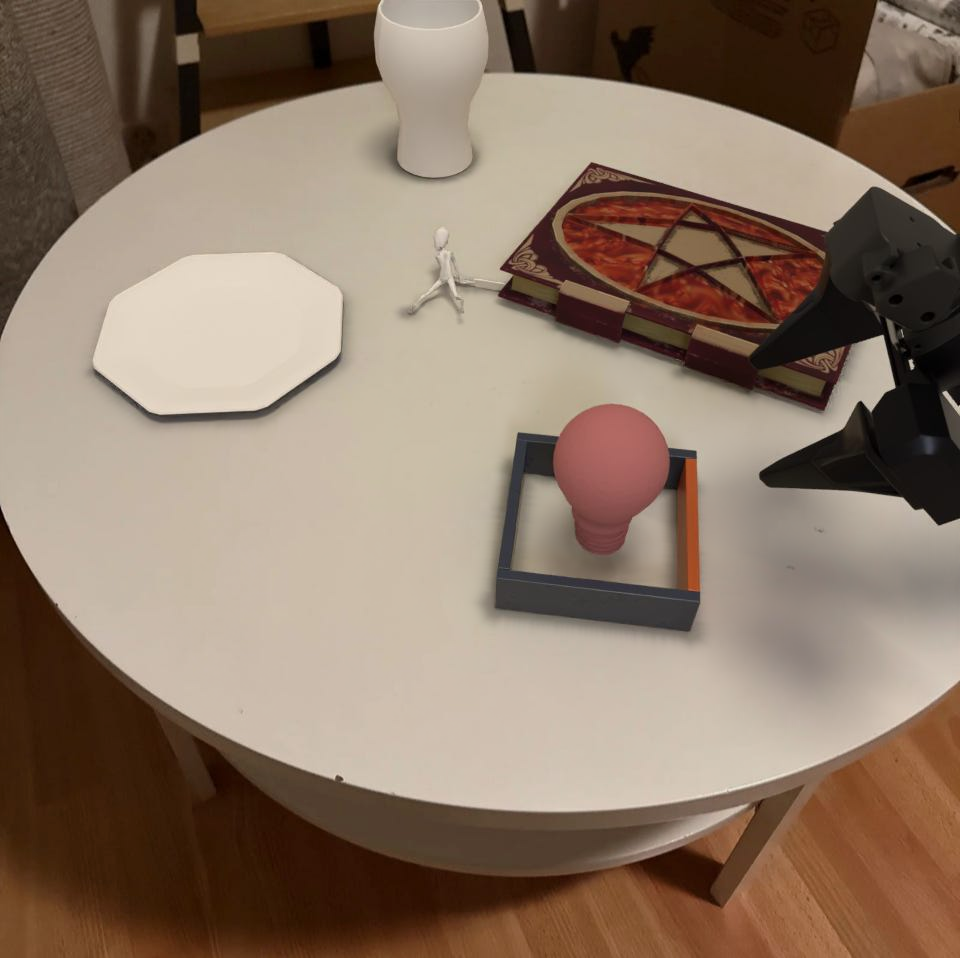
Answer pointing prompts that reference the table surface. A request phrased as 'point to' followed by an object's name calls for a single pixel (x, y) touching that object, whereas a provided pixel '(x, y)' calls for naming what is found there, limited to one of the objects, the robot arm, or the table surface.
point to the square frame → (597, 595)
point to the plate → (220, 334)
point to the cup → (432, 78)
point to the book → (675, 277)
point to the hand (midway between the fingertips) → (757, 418)
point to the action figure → (446, 274)
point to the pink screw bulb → (609, 472)
